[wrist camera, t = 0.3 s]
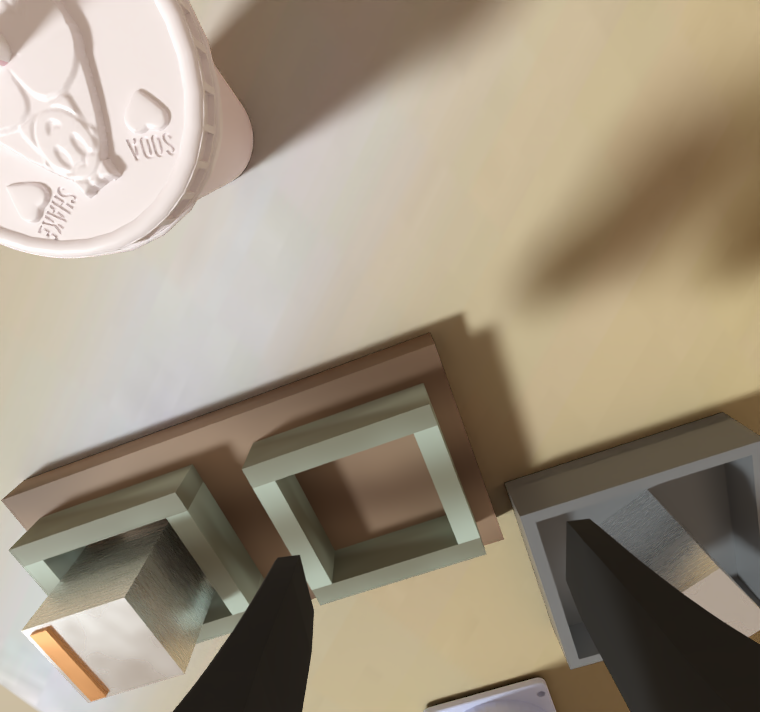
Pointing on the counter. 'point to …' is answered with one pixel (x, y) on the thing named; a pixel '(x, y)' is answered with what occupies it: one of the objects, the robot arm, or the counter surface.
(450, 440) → the double pocket tray
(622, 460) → the gray square tray
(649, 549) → the block
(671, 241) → the counter surface
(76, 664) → the billet
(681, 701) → the robot arm
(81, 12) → the smoothie
